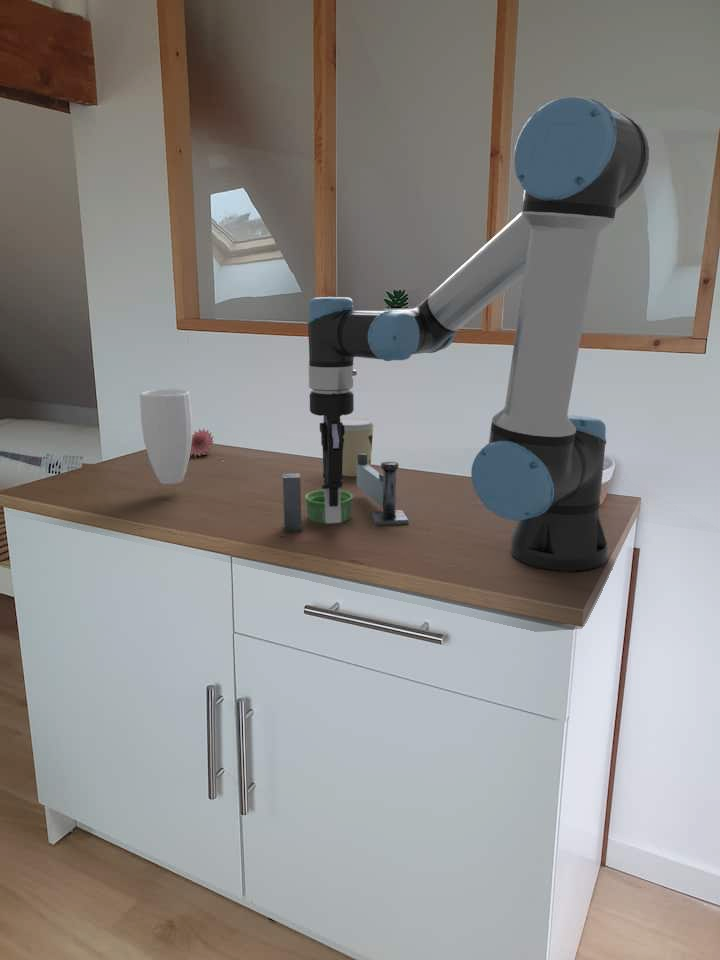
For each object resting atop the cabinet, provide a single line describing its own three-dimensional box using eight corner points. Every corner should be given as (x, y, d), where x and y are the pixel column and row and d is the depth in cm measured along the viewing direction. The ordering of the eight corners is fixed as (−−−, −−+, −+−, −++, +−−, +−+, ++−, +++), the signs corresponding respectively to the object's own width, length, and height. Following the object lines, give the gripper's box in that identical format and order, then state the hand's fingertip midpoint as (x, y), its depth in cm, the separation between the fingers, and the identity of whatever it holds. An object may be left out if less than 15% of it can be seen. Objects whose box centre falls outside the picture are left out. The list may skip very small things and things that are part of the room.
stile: (301, 531, 133) (300, 477, 130) (284, 532, 132) (283, 477, 130) (300, 525, 136) (299, 472, 133) (283, 526, 135) (282, 473, 133)
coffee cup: (379, 475, 170) (380, 423, 167) (341, 479, 167) (341, 426, 164) (364, 465, 179) (364, 416, 176) (327, 469, 175) (327, 419, 172)
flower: (207, 428, 194) (196, 419, 189) (226, 444, 190) (215, 435, 186) (187, 451, 194) (176, 443, 189) (206, 468, 190) (195, 460, 185)
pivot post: (408, 523, 136) (409, 467, 134) (376, 525, 136) (376, 468, 133) (401, 514, 142) (402, 459, 139) (371, 515, 141) (371, 460, 138)
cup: (159, 505, 148) (151, 397, 142) (138, 493, 156) (129, 391, 150) (206, 495, 154) (200, 392, 149) (183, 485, 162) (177, 387, 157)
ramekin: (295, 518, 140) (295, 495, 139) (330, 508, 146) (330, 486, 145) (327, 529, 134) (327, 505, 133) (362, 518, 140) (362, 495, 139)
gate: (391, 506, 140) (391, 470, 138) (381, 507, 139) (381, 471, 138) (364, 485, 155) (364, 452, 153) (355, 485, 154) (355, 453, 152)
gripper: (358, 395, 121) (358, 532, 127) (348, 384, 133) (348, 509, 139) (312, 396, 120) (315, 534, 126) (306, 385, 132) (309, 511, 138)
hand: (332, 521), depth 132 cm, fingers closed
